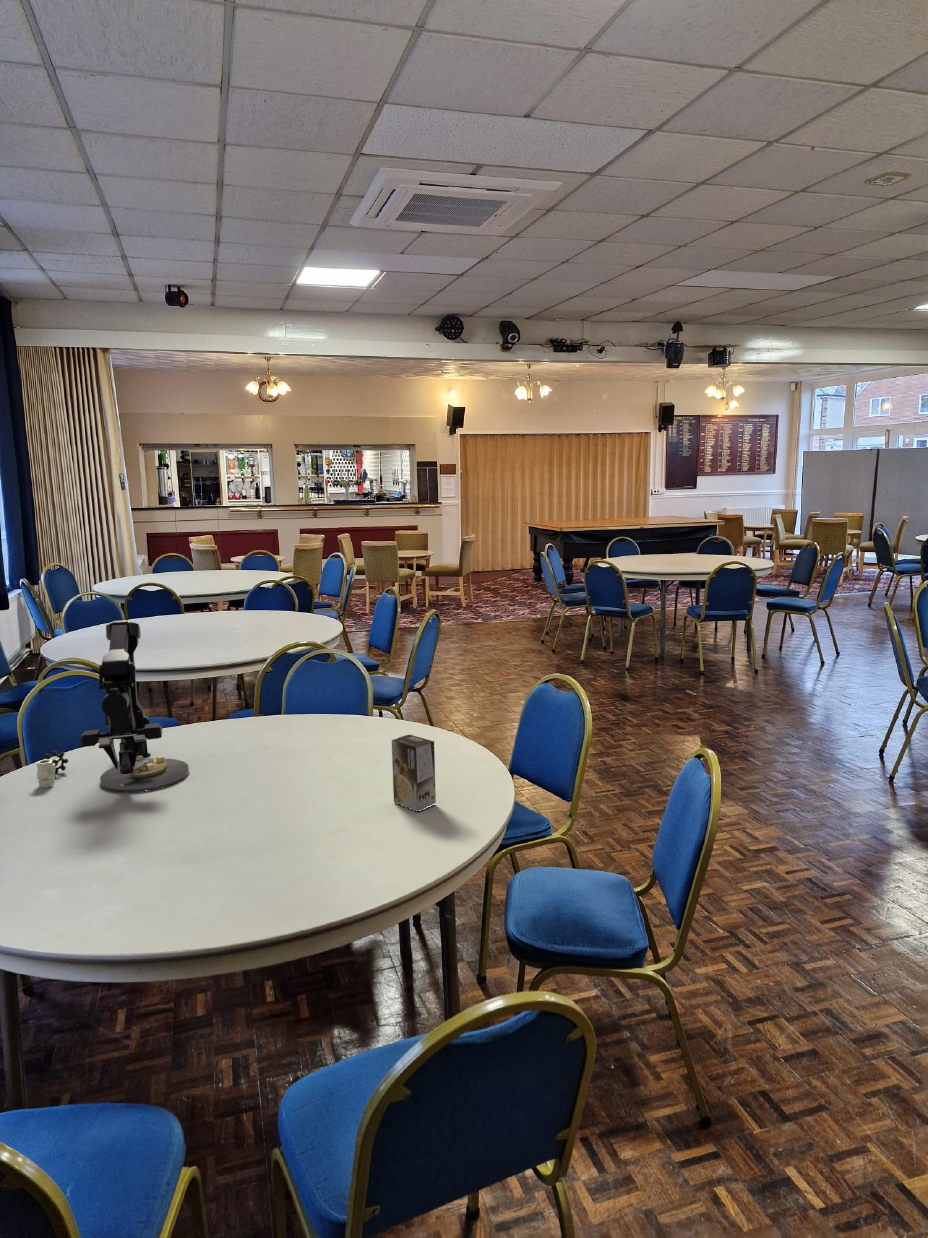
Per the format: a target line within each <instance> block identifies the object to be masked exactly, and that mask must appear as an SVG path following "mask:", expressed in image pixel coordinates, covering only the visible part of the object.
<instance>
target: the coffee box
mask: <svg viewBox="0 0 928 1238" xmlns="http://www.w3.org/2000/svg"><path fill="white" fill-rule="evenodd" d="M435 754H436V753H435V741H434V740H430V739H427V738H423V737H419V736H417V735H413V734H406V735H401V736H400V737H397V738H394V739H392V740H391V757H392V759H391V760H392V761H391V765H392V785H393V786H392V787H393V789H392V790H393V791H392V792H393V793H392V794H393V803H394V802H395V803H398V804H400V805H403V806H406V807H408V808H411V809H414V810H417V811H419V810H422V809H424V808H426V807H427V806H430V805H432V804H434V803H436V801H437V799H436V798H437V797H436V794H437V793H436V762H435V761H436V760H435V759H436V758H435V757H436V756H435ZM395 803H394V804H395ZM436 804H437V803H436ZM400 805H399V806H400ZM403 806H402V807H403ZM406 807H405V808H406ZM408 808H407V809H408ZM411 809H410V810H411ZM414 810H413V811H414Z"/></svg>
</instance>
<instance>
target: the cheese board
mask: <svg viewBox="0 0 928 1238" xmlns="http://www.w3.org/2000/svg"><path fill="white" fill-rule="evenodd" d="M165 759H166V757H165V756H164V755H159V756H156V757H143V756H141V755H140V756H137V758H136V762H135V766H134V767H133V764H132V750H122V751H120V750H119V751H118V762H119V764H118V765H120V774H122V777H129V778H130V777H131V778H142V777H149V776H154V775H157V774H160V773H162V772H164V771H165V770H166V769H167V762H166V760H165Z"/></svg>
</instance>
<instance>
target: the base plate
mask: <svg viewBox="0 0 928 1238" xmlns="http://www.w3.org/2000/svg"><path fill="white" fill-rule="evenodd" d="M165 760H166V762H167V769H166V770H165V771H164V772H162V773H160V774H157V775H154V776H149V777H142V778H131V777H130V778H129V777H122V774H120V764H118V769H116V768H115V766H114V767H111V768H110V769H108V770H106V771H104V772H103V773H102V774H101V775H100V777H99V781H100V786H101V788H102V789H104V790H106V791H109V790H110V791H109V792H115V793H125V792H128V793H141V792H140V791H143V792H146V791H145V790H150V791H153V790H154V789H155V790H159V789H158V788H160V789H163V787H164V788H167V787H170V786H173V785H175V784H177V783H179V782H182V781H183V780H185V779H186V778H187V777H188V775H189V773H190V772H189V771H190V770H189V764H188V763H187V762H185V761H183V760H180V759H176V758H165ZM169 785H170V786H169Z"/></svg>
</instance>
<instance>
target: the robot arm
mask: <svg viewBox="0 0 928 1238" xmlns="http://www.w3.org/2000/svg"><path fill="white" fill-rule="evenodd" d="M105 635H106V636H105V637H106V639H107V641H109V648H108V653H105V654H104V655H103V656H102V661H101V664H99V668H98V672H99V673H98V675H99V676H98V678H99V679H98V690H100V691H102V690H105V696H104V698H103V700H102V702H101V711H102V712H103V713H104V725H105V726H106V727H108V728H109V731H107V732H101V730H100V728H98V729H89V730H85V731H84V732H83V733H81V736H80V747H81V748H85V747H87V748H88V747H95V746H96V744H98V749H103V750H104V752H105V753H106V754H107V755H108V757H109V759H110V761H111V762H112V764H113V766H114V767H115V768H116V769H118V766H119V764H118V762H119V760H118V758H117V752H116V748H115V740H120V742H119V746H118V747H119V751H122V750H132V764H133V767H134V766H135V762H136V758H137V756H140V755H141V756H143V758H147V757H150V756H151V753H149V752H148V742H147V741H150V740H157V739H162V737H163V725H162V723H160V722H156V723H151V720H150V719H149V718H148V715H146V713H145V708H144V707H143V706H142V704H141V703H140V702H139V701H138V691H137V690H138V689H137V677H136V675H137V674H136V673H137V671H136V670H137V669H136V666H135V665H136V664H135V663H136V662H135V651H136V649H137V647H138V645H139V643H140V642H139V639H141V635H142V634H141V627H140V624H139V623H136V622H131V620H128V619H126V620H112V621H111V622H110V621H109V624H106V625H105Z"/></svg>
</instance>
